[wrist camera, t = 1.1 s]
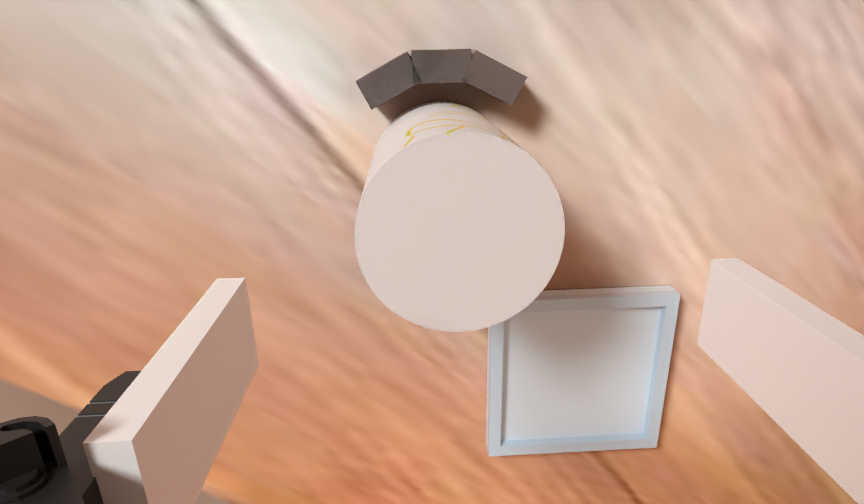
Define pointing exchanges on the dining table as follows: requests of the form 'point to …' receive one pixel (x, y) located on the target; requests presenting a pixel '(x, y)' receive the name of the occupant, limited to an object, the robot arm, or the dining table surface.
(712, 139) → the dining table surface
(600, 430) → the tray
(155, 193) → the dining table surface
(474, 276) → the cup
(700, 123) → the dining table surface
